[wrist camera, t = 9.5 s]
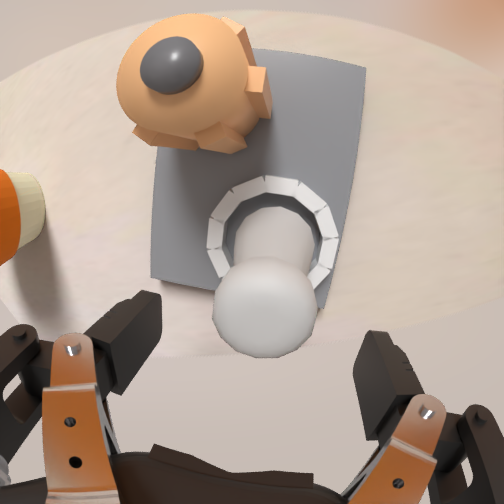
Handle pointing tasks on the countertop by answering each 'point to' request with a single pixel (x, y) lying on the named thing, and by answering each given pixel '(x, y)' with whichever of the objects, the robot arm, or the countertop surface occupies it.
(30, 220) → the reusable coffee cup
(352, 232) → the countertop surface
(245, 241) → the salt shaker
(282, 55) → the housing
